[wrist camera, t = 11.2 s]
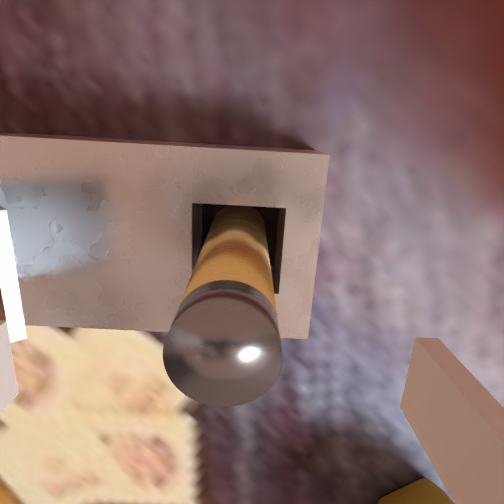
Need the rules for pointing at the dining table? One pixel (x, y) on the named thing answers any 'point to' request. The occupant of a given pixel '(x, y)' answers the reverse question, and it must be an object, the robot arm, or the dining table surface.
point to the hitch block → (147, 224)
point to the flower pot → (417, 494)
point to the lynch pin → (227, 316)
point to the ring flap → (9, 284)
